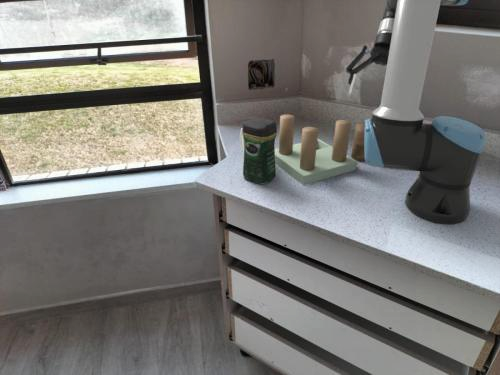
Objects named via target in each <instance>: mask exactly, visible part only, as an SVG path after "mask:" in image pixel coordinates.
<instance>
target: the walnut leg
mask: <svg viewBox="0 0 500 375" xmlns="http://www.w3.org/2000/svg"><path fill="white" fill-rule="evenodd" d="M364 130H365V121H357V122H356V123H355V128H354V136H353V142H352V148H351V154H350V157H351V158H353V159H354V160H356V161H357V163H358V162H364V161H365V153H364Z"/></svg>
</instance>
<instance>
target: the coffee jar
mask: <svg viewBox="0 0 500 375" xmlns="http://www.w3.org/2000/svg"><path fill="white" fill-rule="evenodd" d="M276 122H277V121H275V120H270V119H267V118H266V119H265V118H261V117H257V116H255V115H252V116H249V117H247V118H244V120H243V121H242V134H243V138H244V164H243V163H242V164H243V166H242V176H243V177H244V179H246V180H248V181H250V182H253V183H256V184H260V185H265V184H268V183H271V182H272V181H274V180H275V179H276V178H277V177H276V176H277V167H276V166H277V165H276V164H275V149H276V148H275V145H276V144H275V143H276V137H277V135H278V128H277V123H276Z"/></svg>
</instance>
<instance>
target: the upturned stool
mask: <svg viewBox="0 0 500 375" xmlns="http://www.w3.org/2000/svg"><path fill="white" fill-rule="evenodd" d="M295 118H296V117H295V115H293V114H286V113H285V114H282V115H280V117H279V136H278V137H279V138H278V140H279V143H278V148H275V165H276V166H278V167H279V168H280V169H282V170H283V171H284V172H285V173H287V174H288V175H289V176H291V177H292V178H293V179H294V180H296V181H297V182H298V183H300V184H301V185H302V186H305V185H309V184H312V183H315V182H318V181H323V180H325V179H330V178H333V177H336V176H340V175H343V174H346V173H350V172H354V171H356V170H357V166H358V161H356V160H354V159H353V158H351V156H349V155H347V154H348V150H349V141H350V136H351V134H350V133H351V126H352V122H351V120H350V121H349V120H346V119H338V120H336V121H335V125H334V126H335V127H334V137H333V143H332V146H331V145H330V144H328V143H326V142H325V141H323V140H321V139H319V138H318V135H319V129H318V128H317V127H313V126H305V127H303V128H302V129H301V130H302V132H301V142H300V143H299V142H298V143H294V135H295V134H294V133H295Z"/></svg>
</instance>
